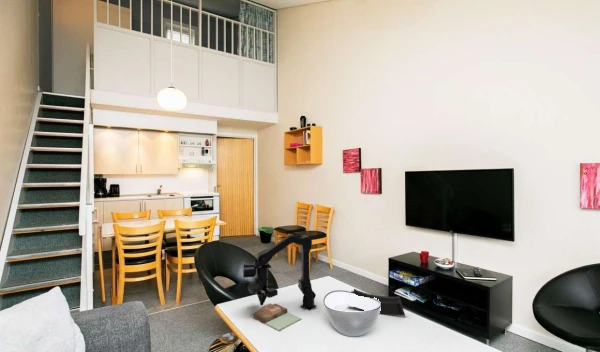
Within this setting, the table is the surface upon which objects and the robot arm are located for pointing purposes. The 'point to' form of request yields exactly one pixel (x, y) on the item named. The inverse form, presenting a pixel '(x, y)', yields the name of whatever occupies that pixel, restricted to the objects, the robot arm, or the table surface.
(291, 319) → the green mat
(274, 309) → the terracotta tile
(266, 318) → the walnut stand
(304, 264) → the robot arm
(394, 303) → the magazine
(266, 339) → the table surface
